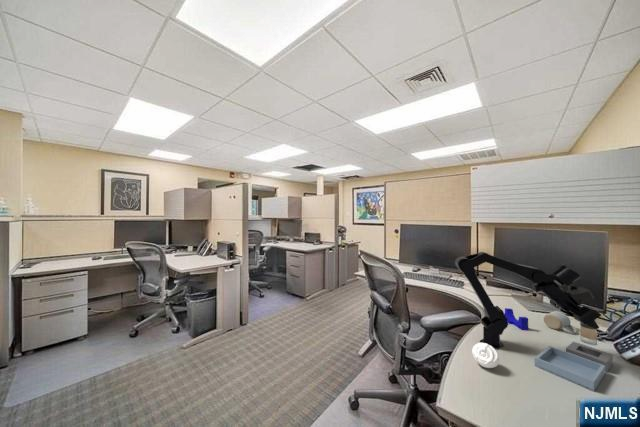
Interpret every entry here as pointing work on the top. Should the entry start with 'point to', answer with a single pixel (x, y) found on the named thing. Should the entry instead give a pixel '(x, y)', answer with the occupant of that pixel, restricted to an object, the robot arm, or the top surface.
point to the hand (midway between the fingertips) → (593, 325)
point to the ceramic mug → (558, 321)
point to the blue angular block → (521, 323)
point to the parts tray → (571, 367)
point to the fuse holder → (591, 354)
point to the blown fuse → (588, 334)
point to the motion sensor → (485, 355)
